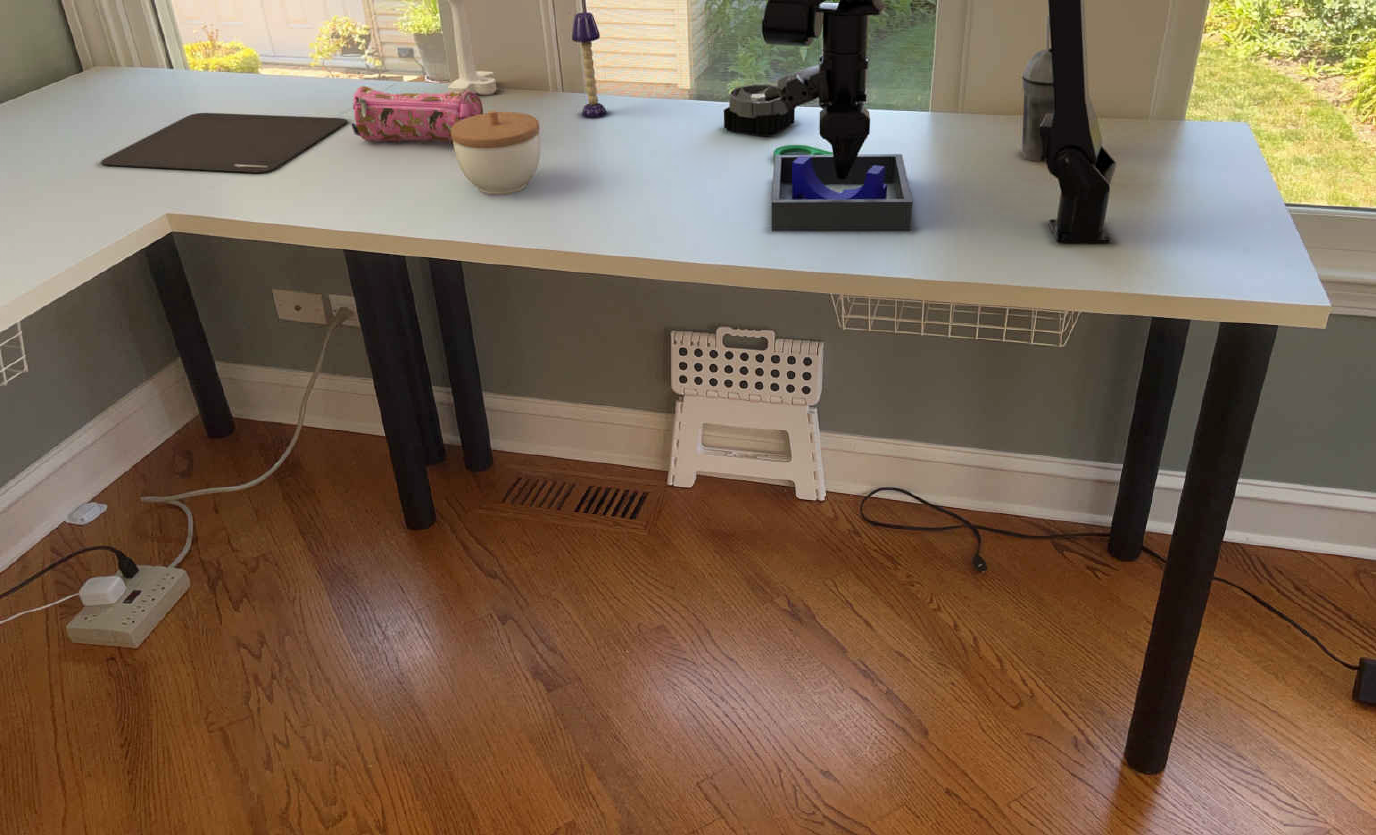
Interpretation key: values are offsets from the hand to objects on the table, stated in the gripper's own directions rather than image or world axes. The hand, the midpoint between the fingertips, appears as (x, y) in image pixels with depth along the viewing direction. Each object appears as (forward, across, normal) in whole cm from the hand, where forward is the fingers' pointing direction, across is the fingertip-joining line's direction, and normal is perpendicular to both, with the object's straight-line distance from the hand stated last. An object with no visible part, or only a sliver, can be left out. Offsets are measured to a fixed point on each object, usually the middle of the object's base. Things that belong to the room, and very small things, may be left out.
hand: (840, 166), depth 148 cm
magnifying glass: (+6, -17, -2) cm, 18 cm away
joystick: (+6, -56, -65) cm, 86 cm away
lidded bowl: (+6, -8, -49) cm, 50 cm away
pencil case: (+6, -28, -67) cm, 73 cm away
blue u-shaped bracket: (+6, 0, 0) cm, 6 cm away
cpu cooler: (+6, -34, -12) cm, 37 cm away
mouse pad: (+5, -29, -101) cm, 105 cm away
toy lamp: (+6, -42, -41) cm, 59 cm away
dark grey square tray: (+6, 0, 0) cm, 6 cm away
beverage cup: (+6, -19, +30) cm, 36 cm away
